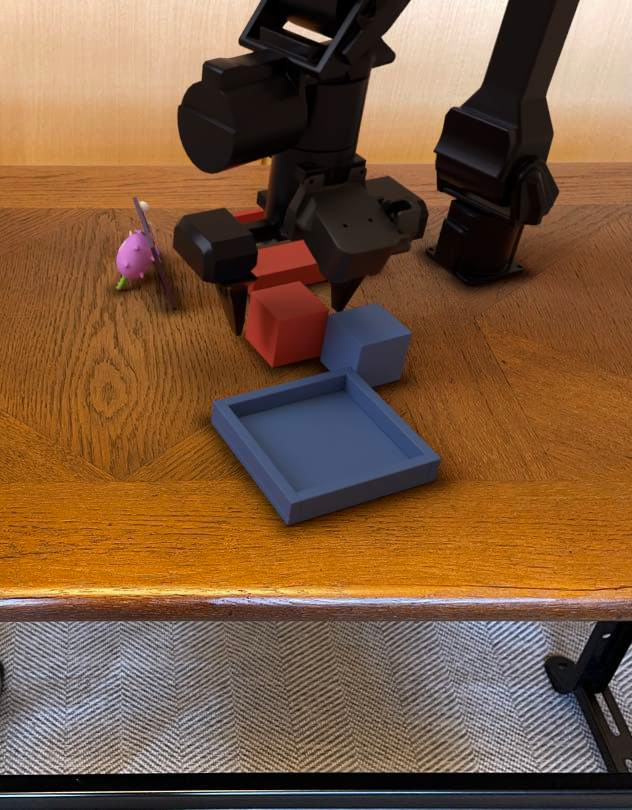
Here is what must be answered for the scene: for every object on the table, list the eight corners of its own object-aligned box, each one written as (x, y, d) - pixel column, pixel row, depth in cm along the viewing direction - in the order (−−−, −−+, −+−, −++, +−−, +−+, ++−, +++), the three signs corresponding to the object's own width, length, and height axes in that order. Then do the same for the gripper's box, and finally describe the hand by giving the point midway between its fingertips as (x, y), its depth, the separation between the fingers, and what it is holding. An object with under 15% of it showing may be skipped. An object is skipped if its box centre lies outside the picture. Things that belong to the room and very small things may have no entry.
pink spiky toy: (162, 242, 76) (143, 192, 82) (103, 265, 76) (89, 213, 83) (185, 305, 80) (165, 252, 87) (128, 326, 80) (113, 272, 87)
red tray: (300, 217, 93) (303, 198, 91) (363, 272, 85) (368, 251, 83) (196, 238, 89) (197, 219, 88) (251, 297, 82) (254, 276, 80)
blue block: (367, 348, 76) (377, 302, 73) (400, 380, 72) (412, 332, 69) (319, 360, 74) (328, 314, 71) (351, 393, 71) (361, 345, 68)
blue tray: (345, 387, 72) (350, 365, 70) (435, 481, 64) (442, 458, 62) (210, 422, 68) (213, 401, 67) (287, 526, 60) (291, 503, 59)
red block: (292, 326, 78) (299, 280, 75) (321, 356, 75) (330, 309, 72) (245, 337, 77) (250, 291, 74) (272, 368, 74) (279, 321, 71)
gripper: (253, 210, 56) (230, 408, 66) (504, 161, 61) (447, 352, 71) (175, 138, 64) (165, 325, 74) (402, 100, 69) (364, 279, 79)
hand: (287, 321), depth 74 cm, fingers open, 9 cm apart
